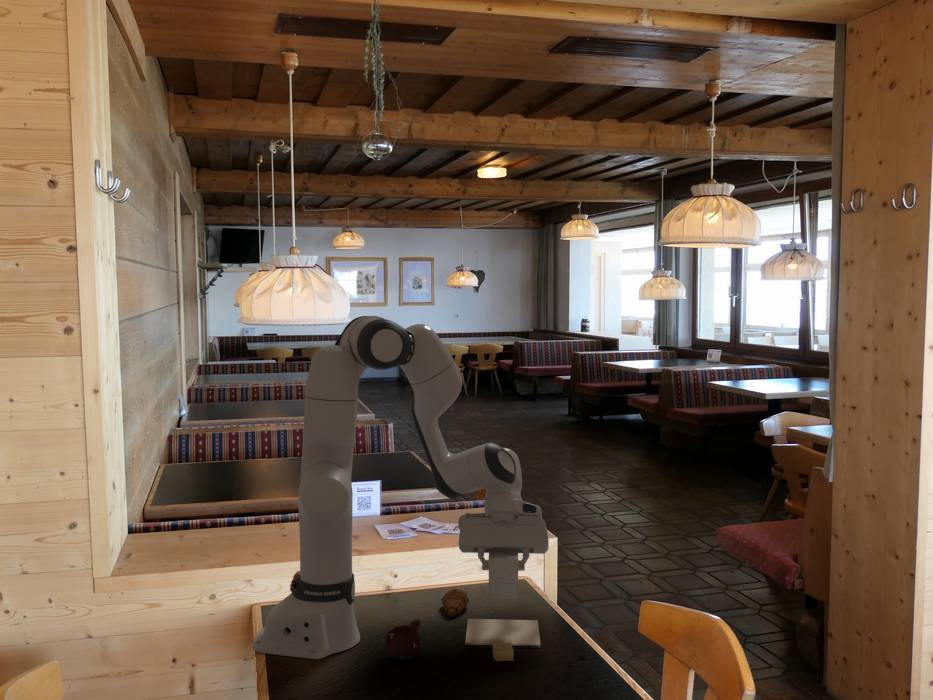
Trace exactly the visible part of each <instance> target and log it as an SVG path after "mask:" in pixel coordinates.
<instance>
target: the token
mask: <svg viewBox="0 0 933 700" xmlns="http://www.w3.org/2000/svg"><path fill="white" fill-rule="evenodd" d="M491 648H492V649H491V654H492V653H493V655H492V658H494V660H496V661H504V660H505V661H513V662H514V657H515V656H514V647H512V643H511V642H498V643H492V646H491ZM494 660H493V661H494Z"/></svg>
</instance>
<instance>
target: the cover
mask: <svg viewBox="0 0 933 700" xmlns="http://www.w3.org/2000/svg"><path fill="white" fill-rule="evenodd" d="M488 560H489V570H488V600H519V571H518V560H519V553H518V549H489V553H488Z"/></svg>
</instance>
